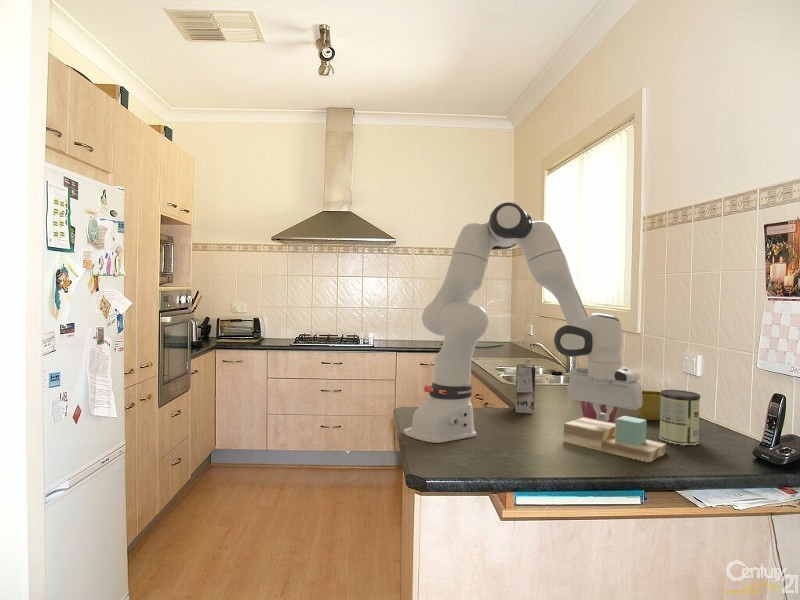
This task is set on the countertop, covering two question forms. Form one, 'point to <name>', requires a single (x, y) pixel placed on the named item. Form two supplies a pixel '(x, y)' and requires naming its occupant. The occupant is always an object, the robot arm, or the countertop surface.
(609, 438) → the stair
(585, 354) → the robot arm
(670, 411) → the coffee can
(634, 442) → the teal cube
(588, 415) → the plant pot
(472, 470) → the countertop surface
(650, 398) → the flower pot
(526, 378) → the coffee box
